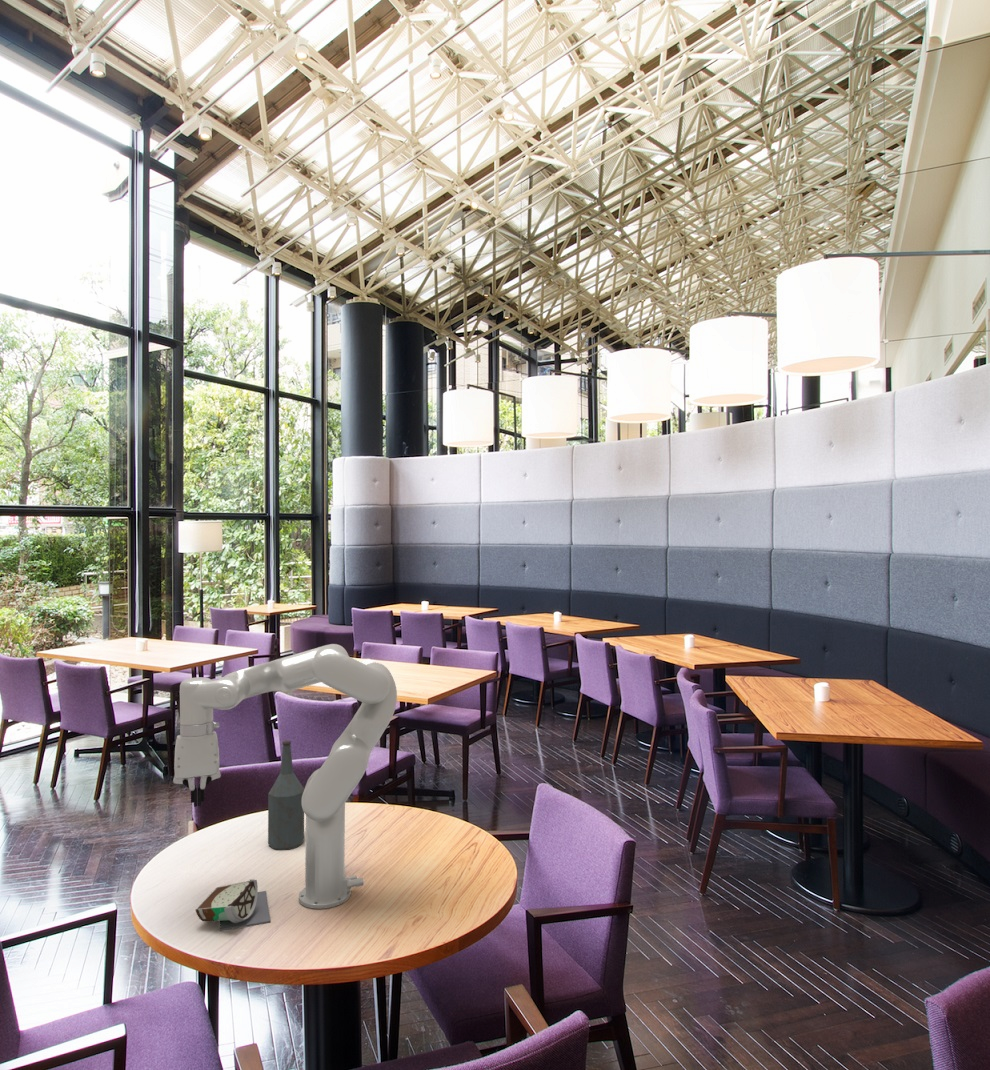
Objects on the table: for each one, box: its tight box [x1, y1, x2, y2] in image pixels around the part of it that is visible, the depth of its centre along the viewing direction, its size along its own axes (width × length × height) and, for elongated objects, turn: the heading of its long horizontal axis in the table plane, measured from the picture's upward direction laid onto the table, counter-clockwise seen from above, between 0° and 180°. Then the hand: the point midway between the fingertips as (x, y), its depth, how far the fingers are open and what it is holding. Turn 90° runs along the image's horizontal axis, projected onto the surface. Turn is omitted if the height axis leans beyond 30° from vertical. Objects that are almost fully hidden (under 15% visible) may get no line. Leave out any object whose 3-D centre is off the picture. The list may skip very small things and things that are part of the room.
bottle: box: [267, 740, 305, 851], centre depth 216 cm, size 10×10×30 cm
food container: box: [195, 878, 259, 923], centre depth 171 cm, size 12×6×10 cm
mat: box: [219, 890, 271, 932], centre depth 175 cm, size 11×16×1 cm
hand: (197, 804), depth 178 cm, fingers closed
